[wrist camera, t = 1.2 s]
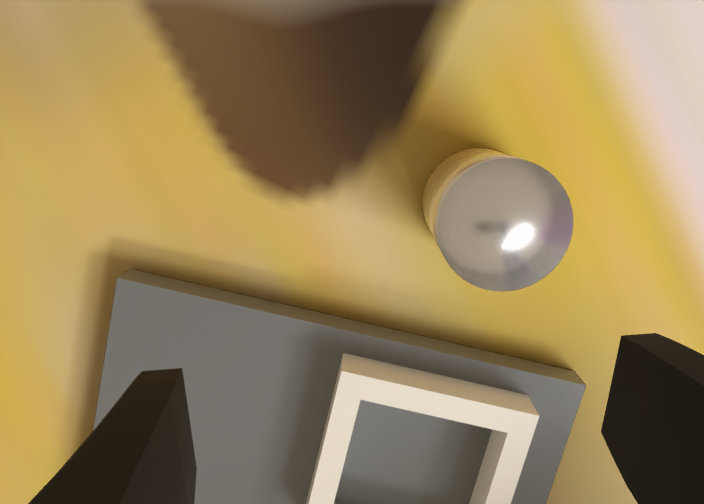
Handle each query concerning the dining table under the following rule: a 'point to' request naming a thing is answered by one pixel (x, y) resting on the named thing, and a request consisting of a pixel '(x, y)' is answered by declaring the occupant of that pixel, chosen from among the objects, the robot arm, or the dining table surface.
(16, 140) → the dining table surface
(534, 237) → the pin
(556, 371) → the board
